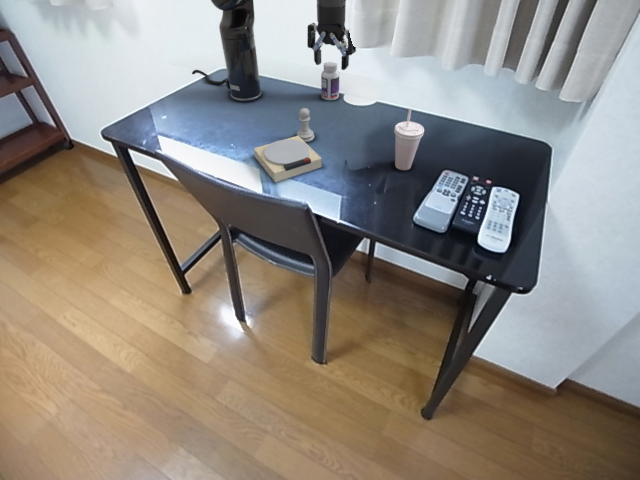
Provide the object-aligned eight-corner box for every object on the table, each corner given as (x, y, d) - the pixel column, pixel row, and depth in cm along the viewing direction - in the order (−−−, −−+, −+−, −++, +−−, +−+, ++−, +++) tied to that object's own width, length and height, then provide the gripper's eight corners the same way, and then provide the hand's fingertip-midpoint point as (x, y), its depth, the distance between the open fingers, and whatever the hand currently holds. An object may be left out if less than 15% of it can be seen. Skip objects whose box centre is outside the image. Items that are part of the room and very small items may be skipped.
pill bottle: (339, 93, 116) (340, 61, 110) (338, 101, 113) (339, 67, 106) (322, 93, 117) (322, 60, 110) (320, 100, 113) (320, 67, 106)
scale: (254, 157, 91) (253, 144, 89) (298, 144, 95) (297, 132, 93) (275, 183, 83) (274, 170, 81) (322, 167, 88) (322, 155, 85)
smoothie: (393, 156, 91) (401, 100, 81) (419, 161, 89) (431, 105, 79) (386, 170, 87) (394, 113, 77) (413, 176, 85) (425, 118, 75)
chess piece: (294, 135, 98) (292, 105, 93) (311, 132, 99) (310, 103, 94) (299, 143, 95) (297, 114, 90) (316, 140, 96) (316, 111, 91)
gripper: (300, 2, 97) (303, 66, 108) (349, 8, 92) (347, 75, 103) (315, -4, 102) (316, 58, 113) (362, 1, 96) (359, 66, 108)
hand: (331, 66), depth 108 cm, fingers open, 8 cm apart
